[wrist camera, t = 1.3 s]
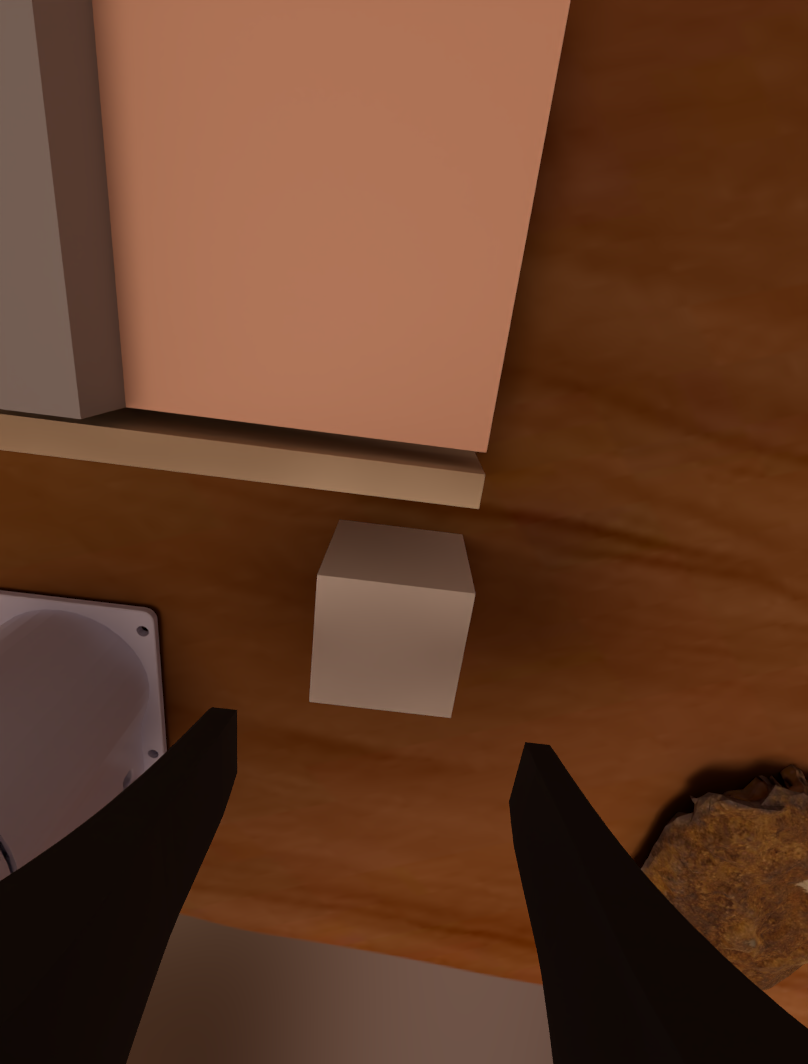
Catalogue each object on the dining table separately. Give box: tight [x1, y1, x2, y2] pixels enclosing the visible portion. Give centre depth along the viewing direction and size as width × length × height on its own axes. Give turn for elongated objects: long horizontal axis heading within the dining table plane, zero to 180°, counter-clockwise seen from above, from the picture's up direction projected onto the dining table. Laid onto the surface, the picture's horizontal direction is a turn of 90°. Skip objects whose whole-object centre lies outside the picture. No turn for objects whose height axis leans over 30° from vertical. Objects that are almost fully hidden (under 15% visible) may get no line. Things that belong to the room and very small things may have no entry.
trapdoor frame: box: [0, 407, 485, 509], centre depth 14 cm, size 13×16×6 cm
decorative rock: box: [641, 765, 808, 990], centre depth 26 cm, size 11×4×15 cm
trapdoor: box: [0, 0, 570, 453], centre depth 12 cm, size 10×14×3 cm
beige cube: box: [309, 520, 475, 718], centre depth 19 cm, size 5×5×5 cm
